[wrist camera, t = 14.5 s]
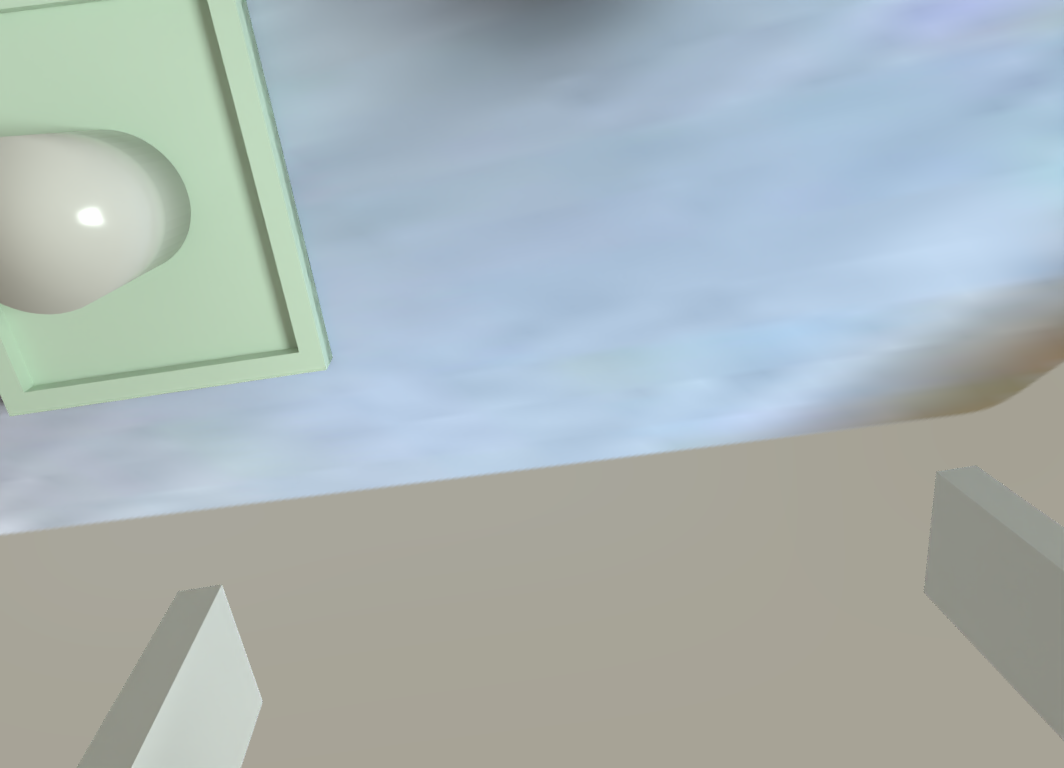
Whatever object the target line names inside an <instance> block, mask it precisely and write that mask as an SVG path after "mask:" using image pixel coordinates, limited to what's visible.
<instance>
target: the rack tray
mask: <svg viewBox="0 0 1064 768" xmlns="http://www.w3.org/2000/svg"><path fill="white" fill-rule="evenodd" d="M98 129H107V130H116V131H121V132H125V133H128V134H131V135H134V136H136V137H138V138H140V139H142V140H144V141H146V142H147V143H149V144H151V145H152V146H153V147H155V148H156V149H157V150H159V151H160V152H161V153H162V154H163V155H164V156H165V157H166V158H167V159H168V160H169V161H170V162H171V163H172V165H173V166H174V167H175V169H176V170H177V172H178V173H179V175H180V176H181V178H182V180H183V182H184V184H185V187H186V190H187V192H188V196H189V200H190V207H191V222H190V227H189V231H188V234H187V237H186V239H185V241H184V243H183V245H182V246H181V248H180V249H179V251H178V252H177V253H176V254H175V255H174V256H173V257H172V258H171V259H169V260H168V261H167V262H165V263H163V264H162V265H160V266H158V267H156V268H154V269H152V270H151V271H149V272H147V273H145V274H143V275H141V276H140V277H138V278H136V279H134V280H132V281H130V282H129V283H127V284H125V285H123V286H121V287H119V288H118V289H116V290H114V291H112V292H110V293H108V294H107V295H105V296H103V297H101V298H99V299H97V300H95V301H94V302H92V303H90V304H88V305H86V306H84V307H82V308H80V309H77V310H74V311H71V312H66V313H61V314H35V313H29V312H24V311H20V310H16V309H13V308H10V307H8V306H5V305H3V304H1V303H0V395H1V398H2V400H3V402H4V404H5V407H6V409H7V411H8V413H9V416H16V415H23V414H29V413H36V412H43V411H50V410H57V409H63V408H70V407H77V406H84V405H91V404H97V403H104V402H111V401H118V400H125V399H131V398H138V397H145V396H152V395H159V394H166V393H172V392H179V391H186V390H193V389H200V388H206V387H213V386H220V385H227V384H234V383H240V382H247V381H254V380H261V379H268V378H274V377H281V376H288V375H295V374H302V373H308V372H315V371H322V370H327V368H328V366H329V364H330V362H331V360H332V358H333V357H332V353H331V349H330V345H329V341H328V337H327V332H326V328H325V324H324V320H323V316H322V312H321V308H320V304H319V300H318V295H317V291H316V287H315V283H314V279H313V275H312V271H311V267H310V263H309V258H308V254H307V250H306V246H305V242H304V238H303V234H302V230H301V225H300V221H299V217H298V213H297V209H296V205H295V201H294V197H293V193H292V188H291V184H290V180H289V176H288V172H287V168H286V164H285V160H284V155H283V151H282V147H281V143H280V139H279V135H278V131H277V127H276V123H275V118H274V114H273V110H272V106H271V102H270V98H269V94H268V90H267V86H266V81H265V77H264V73H263V69H262V65H261V61H260V57H259V53H258V48H257V44H256V40H255V36H254V32H253V28H252V24H251V20H250V16H249V11H248V7H247V3H246V0H0V137H6V136H19V135H32V134H45V133H58V132H71V131H84V130H98Z"/></svg>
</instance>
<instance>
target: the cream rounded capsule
mask: <svg viewBox="0 0 1064 768" xmlns="http://www.w3.org/2000/svg"><path fill="white" fill-rule="evenodd" d="M190 222H191V207H190V200H189V196H188V192H187V190H186V187H185V184H184V182H183V180H182V178H181V176H180V175H179V173H178V172H177V170H176V169H175V167H174V166H173V165H172V163H171V162H170V161H169V160H168V159H167V158H166V157H165V156H164V155H163V154H162V153H161V152H160V151H159V150H157V149H156V148H155V147H153V146H152V145H151V144H149V143H147V142H146V141H144V140H142V139H140V138H138V137H136V136H134V135H131V134H128V133H125V132H121V131H116V130H107V129H98V130H84V131H71V132H58V133H45V134H32V135H19V136H6V137H0V303H1V304H3V305H5V306H8V307H10V308H13V309H16V310H20V311H24V312H29V313H35V314H61V313H66V312H71V311H74V310H77V309H80V308H82V307H84V306H86V305H88V304H90V303H92V302H94V301H95V300H97V299H99V298H101V297H103V296H105V295H107V294H108V293H110V292H112V291H114V290H116V289H118V288H119V287H121V286H123V285H125V284H127V283H129V282H130V281H132V280H134V279H136V278H138V277H140V276H141V275H143V274H145V273H147V272H149V271H151V270H152V269H154V268H156V267H158V266H160V265H162V264H163V263H165V262H167V261H168V260H169V259H171V258H172V257H173V256H174V255H175V254H176V253H177V252H178V251H179V249H180V248H181V246H182V245H183V243H184V241H185V239H186V237H187V234H188V231H189V227H190Z"/></svg>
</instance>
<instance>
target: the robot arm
mask: <svg viewBox="0 0 1064 768" xmlns="http://www.w3.org/2000/svg"><path fill="white" fill-rule="evenodd" d="M924 593H925V594H926V596H927V597H928V598H929V599H930V600H931V601H932V602H933V603H934V604H935V605H936V606H937V607H938V608H939V609H940V610H941V611H942V612H943V614H944V615H945V616H946V617H947V618H948V619H949V620H950V621H951V622H952V623H953V624H954V625H955V626H956V627H957V628H958V629H959V630H960V632H961V633H962V634H963V635H964V636H965V637H966V638H967V639H968V640H969V641H970V642H971V643H972V644H973V645H974V646H975V647H976V648H977V649H978V650H979V652H980V653H981V654H982V655H983V656H984V657H985V658H986V659H987V660H988V661H989V662H990V663H991V664H992V665H993V666H994V668H995V669H996V670H997V671H998V672H999V673H1000V674H1001V675H1002V676H1003V677H1004V678H1005V679H1006V680H1007V681H1008V682H1009V683H1010V684H1011V686H1012V687H1014V689H1015V690H1016V691H1017V692H1018V693H1019V694H1020V695H1021V696H1022V697H1023V698H1024V699H1025V700H1026V701H1027V703H1028V704H1030V706H1031V707H1032V708H1033V709H1034V710H1035V711H1036V712H1037V713H1038V714H1039V715H1040V716H1041V717H1042V718H1043V719H1044V721H1046V723H1047V724H1048V725H1049V726H1050V727H1051V728H1052V729H1053V730H1054V731H1055V732H1056V733H1057V734H1058V735H1059V736H1060V738H1061V739H1062V740H1063V741H1064V527H1063V526H1061V525H1060V524H1058V523H1057V522H1056V521H1054V520H1053V519H1051V518H1050V517H1048V516H1047V515H1046V514H1044V513H1043V512H1041V511H1040V510H1038V509H1037V508H1036V507H1034V506H1033V505H1031V504H1030V503H1029V502H1027V501H1026V500H1024V499H1023V498H1022V497H1020V496H1019V495H1017V494H1016V493H1014V492H1013V491H1012V490H1010V489H1009V488H1007V487H1006V486H1005V485H1003V484H1002V483H1000V482H999V481H997V480H996V479H994V478H993V477H992V476H990V475H989V474H988V473H986V472H985V471H983V470H982V469H980V468H979V467H978V466H970V467H964V468H957V469H951V470H945V471H939V472H936V479H935V489H934V498H933V509H932V518H931V528H930V537H929V547H928V557H927V567H926V576H925V586H924ZM262 702H263V701H262V698H261V695H260V692H259V689H258V687H257V684H256V681H255V678H254V675H253V672H252V670H251V667H250V664H249V661H248V658H247V655H246V652H245V649H244V647H243V644H242V641H241V638H240V635H239V632H238V629H237V626H236V624H235V621H234V618H233V615H232V612H231V609H230V606H229V604H228V601H227V598H226V595H225V592H224V590H223V586H222V585H216V586H210V587H203V588H198V589H191V590H184V591H178V593H177V595H176V597H175V598H174V600H173V602H172V603H171V605H170V607H169V608H168V610H167V612H166V614H165V615H164V617H163V619H162V621H161V622H160V624H159V626H158V628H157V629H156V631H155V633H154V634H153V636H152V638H151V640H150V642H149V643H148V645H147V647H146V648H145V650H144V652H143V654H142V655H141V657H140V659H139V660H138V662H137V664H136V666H135V667H134V669H133V671H132V673H131V674H130V676H129V678H128V680H127V681H126V683H125V685H124V686H123V688H122V690H121V692H120V693H119V695H118V697H117V699H116V701H115V702H114V704H113V706H112V707H111V709H110V711H109V713H108V714H107V716H106V718H105V719H104V721H103V723H102V725H101V726H100V728H99V730H98V732H97V733H96V735H95V737H94V739H93V740H92V742H91V744H90V745H89V747H88V749H87V751H86V752H85V754H84V756H83V758H82V759H81V761H80V763H79V764H78V766H77V768H241V766H242V763H243V760H244V756H245V754H246V751H247V748H248V745H249V741H250V739H251V736H252V733H253V729H254V727H255V723H256V720H257V717H258V714H259V711H260V708H261V705H262Z"/></svg>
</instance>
